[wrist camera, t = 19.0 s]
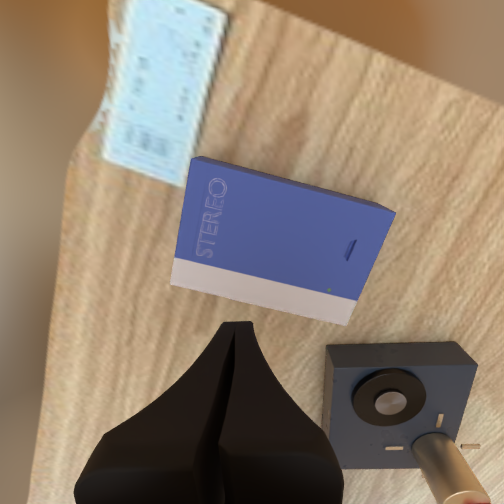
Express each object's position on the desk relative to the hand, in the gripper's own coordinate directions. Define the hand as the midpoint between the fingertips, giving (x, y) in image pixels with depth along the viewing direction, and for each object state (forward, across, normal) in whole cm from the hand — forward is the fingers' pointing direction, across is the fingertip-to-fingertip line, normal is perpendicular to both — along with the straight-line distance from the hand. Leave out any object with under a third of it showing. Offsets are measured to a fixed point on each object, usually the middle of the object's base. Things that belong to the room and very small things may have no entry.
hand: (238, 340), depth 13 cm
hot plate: (+8, -12, +13) cm, 19 cm away
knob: (+5, -14, +15) cm, 21 cm away
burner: (+6, -10, +10) cm, 15 cm away
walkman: (+6, -8, 0) cm, 10 cm away
